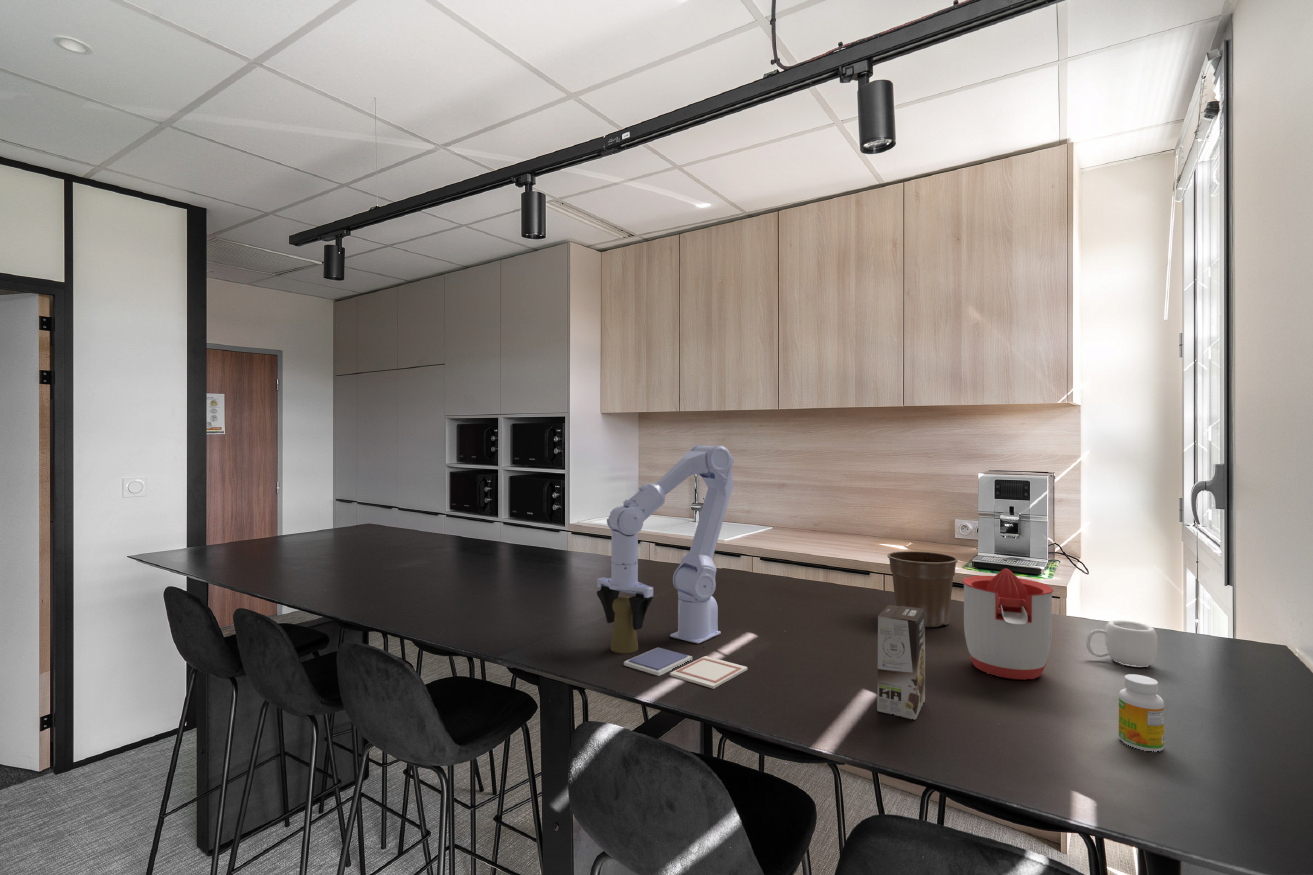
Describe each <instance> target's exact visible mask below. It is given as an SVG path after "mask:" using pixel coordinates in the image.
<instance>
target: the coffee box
mask: <svg viewBox="0 0 1313 875" xmlns="http://www.w3.org/2000/svg"><path fill="white" fill-rule="evenodd" d="M876 658H877V661H876V662H877V665H876V666H877V667H876V668H877V675H876V677H877V680H876V682H877V684H876V685H877V689H876V690H877V691H876V692H877V693H876V694H877V695H876V696H877V697H876V702H877V703H876V704H877V705H876V711H877V712H880V713H885V714H888V715H892V714H894V715H893V716H897V717H900V716H901V717H900V718H906V719H910V720H912V719H913V720H917V718H918V717H919V714H920V711H921V710H922V708H923V705H924V704H923V703H925V702H926V627H925V609H921V608H914V607H905V606H895V604H894V605H893V604H887V606H886V607H885V608H883V610H882V611H880V612H879V614H878V615H877V657H876ZM921 707H922V708H921Z"/></svg>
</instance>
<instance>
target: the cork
mask: <svg viewBox="0 0 1313 875" xmlns="http://www.w3.org/2000/svg"><path fill="white" fill-rule="evenodd" d="M630 597H631V596H618V598H616V599H615V600H614V601H613V605H612V608H613V611H614V612H615V618H614V622H613V625H612V635H611V642H610V643H611V644H610V651H612V652H613V653H617V654H631V653H635V652H637V651H638V650H639V643H638V634H637V630H633V620H632V609H631V605H630V602H629V598H630Z"/></svg>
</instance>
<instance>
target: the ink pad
mask: <svg viewBox="0 0 1313 875" xmlns="http://www.w3.org/2000/svg"><path fill="white" fill-rule="evenodd" d="M690 660H691V661H693V656H692V655H688V654H684V653H680V652H676V651H674V650H673V651H672V650H669V649H666V648H662V647H656V648H653V649H651V650H648V651H645V652H643V653H642V654H639V655H637V656H634V657H632V658H630V659H627V660H625V661H623V666H625V667H629V668H632V669H635V670H638V671H641V672H644V673H647V674H652V675H654V676H657V677H660V676H661V675H662V676H663V675H664V674H667V673H668V672H670V671H672V669H673V668H675V667H677V666H679V667H680V665H681V666H683V665H685V664H686V663H685V662H687V661H689V662H691V661H690ZM684 663H685V664H684ZM687 663H688V662H687ZM682 664H683V665H682ZM677 668H678V667H677ZM675 669H676V668H675ZM673 670H674V669H673Z"/></svg>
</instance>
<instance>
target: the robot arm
mask: <svg viewBox="0 0 1313 875" xmlns="http://www.w3.org/2000/svg"><path fill="white" fill-rule="evenodd" d="M734 462H735V460H734V458H733V456H732V454H731V452H730V451H729V449H728V448H727V447H725V446H724V445H704V444H697V445H695V446H693V447H692V448H691V449H690V450H688V451H687V452H685V453H684V454H683V455H682V457H681V459H679V461H678V462H676V464H674V465H673V466H672V467H671V468H670V469H669V470H668V471H667V472H666V473H665V474H664V475H663V476H661V478H660V479H659V480H657V481H656V482H655V483H646V484H642V485H640V486H639V487H638V491H637V492H636V493H635V494H634V495H633V496H631V497H629V499H625V500H624V501H622V502H623V505H622V506H621V505H620V506H616V507H614V508H612V509H611V511H610V512H609V515H608V518H607V519H606V523H607V526H608V528H609V529H610V532H611V545H610V546H611V548H610V549H611V552H610V554H611V560H610V562H611V563H610V564H611V568H610V569H611V573H610V574H611V575H610V577H604V576H602V577H600V578H597V579H596V584H597V585H596V588H598V589H600V590H597V591H596V596H597V597H598V599H599V601H600V603H601V605H602V607H603V611H604V614H605V618H606V622H607V624H611V623H614V618H615V612H614V611H613V608H612V605H613V601H614V600H615V599H616V598H618V597H620V596H619V595H620V593H622V592H623V593H628V594H632V595H633V596H629V597H630V598H629V602H630V605H631V609H632V620H633V630H636V631H637V630H641V629H643V626H644V620H645V616H646V613H647V611H648V608H649V606H650V604H651V603H652V601H653V599H654V587H653V586H650V585H647V584H644V583H642V582H640V581H639V580H638V578H639V575H638V574H639V570H638V568H639V565H638V564H639V563H638V562H639V561H638V560H639V559H638V558H639V556H638V555H639V553H638V552H639V544H638V543H639V541H638V540H639V539H638V538H639V537H638V536H639V534H638V533H639V532H641V530H642V528H643V526H644V522H646V520H647V519H648V518H649V517H651V515H653V514H654V513H655V512H656V511H657V510H658V509H659V508H661V507H662V506H663V505H664V504H665V501H666V500H665V499H666V496H667V495H668V494H669V493H670V492H671V491H673V490H674V489H676V488H677V487H678V486H679V485H680V484H681V483H683V482H685V480H687V479H688V478H689V477H690V476H692V475H698V476H700V477H701V479H702V480H703V481H704V484H705V485H706V487H707V492H706V494H705V498H704V501H703V505H702V508H701V511H700V514H699V518H698V522H697V525H696V529H695V532H694V535H693V540H692V542H691V546H690V549H689V552H688V553H687V554H686V555H684V556H683V557H682V558H681V561H680V564H679V565H678V567H677V568H676V569H675V571H674V573H673V575H672V584H673V587H674V588H675V590H677V595H678V596H677V597H678V598H677V608H678V609H677V624H678V625H677V629H678V630H677V631H676V632H673V633H671V634H670V637H671V638H674V639H678V640H683V641H686V642H690V643H695V644H700V643H702V642H706V641H707V640H710V639H712V638H714V637H717V636H718V635H721V634H722V633H721V632H722V631H720V630H718V622H719V620H718V618H719V616H718V615H719V614H718V612H719V609H718V603H717V601H716V599H715V597H714V596H713V595H714V592H715V591H716V586H717V583H716V575H717V567H716V565H715V563H714V561H713V558H714V554H715V551H716V547H717V545H718V541H719V537H720V533H721V529H722V526H723V522H724V520H725V519H724V518H725V515H726V511H727V508H728V505H729V501H730V498H731V495H732V491H733V486H734V483H733V482H734V481H733V471H732V469H733V466H734Z"/></svg>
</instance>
